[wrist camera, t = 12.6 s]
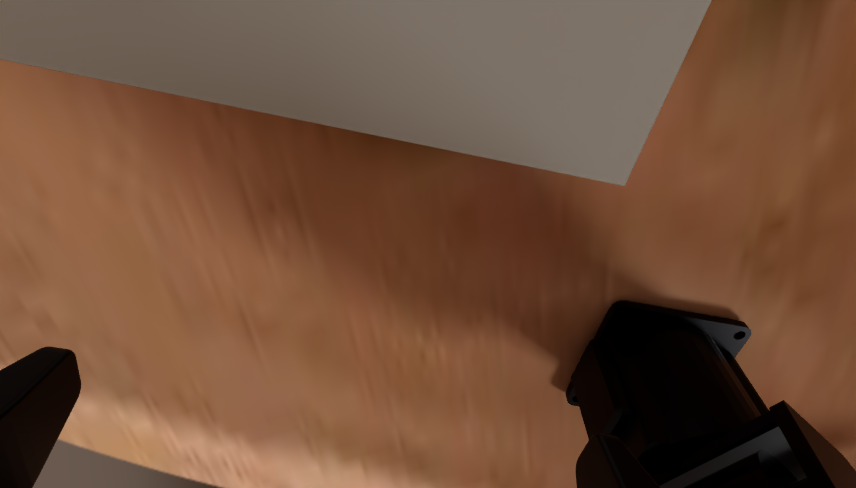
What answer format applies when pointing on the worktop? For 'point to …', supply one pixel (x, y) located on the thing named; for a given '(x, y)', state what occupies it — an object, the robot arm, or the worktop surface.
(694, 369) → the robot arm
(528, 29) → the switch panel
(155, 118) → the worktop surface
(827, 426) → the worktop surface
